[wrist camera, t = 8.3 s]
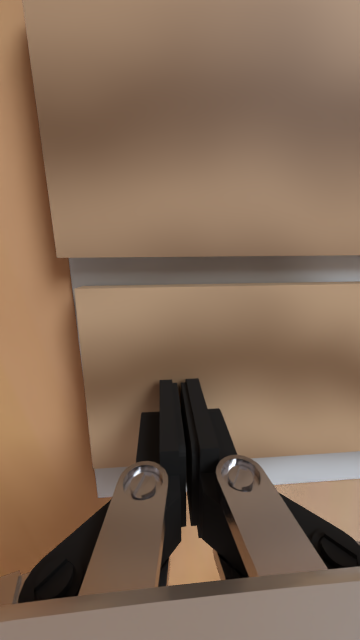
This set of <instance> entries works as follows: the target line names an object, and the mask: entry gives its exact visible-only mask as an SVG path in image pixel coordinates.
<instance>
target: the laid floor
mask: <svg viewBox="0 0 360 640" xmlns="http://www.w3.org/2000/svg"><path fill="white" fill-rule="evenodd" d="M22 3H23V11H24V18H25V26H26V33H27V40H28V48H29V55H30V63H31V70H32V77H33V85H34V92H35V100H36V107H37V114H38V122H39V129H40V137H41V144H42V151H43V159H44V166H45V174H46V181H47V188H48V196H49V203H50V211H51V218H52V225H53V233H54V240H55V247H56V255H57V258H69V265H70V274H71V282H72V290H73V298H74V306H75V314H76V322H77V331H78V339H79V330H78V321H77V311H76V301H75V292H74V289H75V288H78V287H82V286H106V285H168V284H230V283H292V282H354V281H360V0H22ZM79 347H80V340H79ZM80 355H81V350H80ZM81 363H82V359H81ZM82 371H83V369H82ZM251 459H253V460H254V461H255V462H257V463H258V464H259V465H260V466H261V467H262V469H263V470H264V472H265V473H266V475H267V476H268V478H269V479H270V481H271V482H272V484H273V485H279V484H292V483H306V482H319V481H333V480H346V479H359V478H360V451H356V452H341V453H326V454H311V455H296V456H281V457H266V458H251ZM126 468H127V467H115V468H100V469H95V477H96V485H97V493H98V498H104V497H112V496H113V493H114V490H115V487H116V484H117V482H118V479H119V477H120V475H121V473H122V472H123V471H124V470H125V469H126ZM186 491H187V487H186Z"/></svg>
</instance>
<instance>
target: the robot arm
mask: <svg viewBox="0 0 360 640" xmlns="http://www.w3.org/2000/svg"><path fill="white" fill-rule="evenodd" d="M159 384H160V411H159V412H142V413H141V419H140V428H139V437H138V446H137V455H136V463H134V464H132V465H131V466H129V467H127V468H126V469H125V470H124V471H123V472H122V473H121V475H120V477H119V479H118V482H117V484H116V487H115V490H114V493H113V496H112V499H111V500H110V501H109V502H108V503H107V504H106V505H104V506H103V507H102V508H101V509H100V510H99V511H97V512H96V513H95V514H94V515H93V516H92V517H90V518H89V519H88V520H87V521H86V522H85V523H83V524H82V525H81V526H80V527H79V528H78V529H77V530H75V531H74V532H73V533H72V534H71V535H70V536H68V537H67V538H66V539H65V540H64V541H63V542H61V543H60V544H59V545H58V546H57V547H56V548H55V549H53V550H52V551H51V552H50V553H49V554H48V555H46V556H45V557H44V558H43V559H42V560H41V561H40V562H39V563H38V564H37V565H36V566H35V567H34V568H33V569H32V571H31V572H29V573H26V574H23V575H21V574H20V570H19V571H16V572H13V573H10V574H7V575H5V576H2V577H0V640H360V542H358V541H355V540H354V539H353V538H352V537H350V536H349V535H348V534H346V533H345V532H343V531H342V530H340V529H339V528H337V527H335V526H334V525H332V524H330V523H329V522H327V521H325V520H324V519H322V518H320V517H319V516H317V515H315V514H314V513H312V512H310V511H308V510H307V509H305V508H303V507H302V506H300V505H298V504H297V503H295V502H293V501H292V500H290V499H288V498H287V497H285V496H283V495H282V494H280V493H278V491H277V490H276V488H275V487H274V485H273V484H272V482H271V481H270V479H269V478H268V476H267V475H266V473H265V472H264V470H263V469H262V467H261V466H260V465H259V464H258V463H257V462H255V461H254V460H253V459H251V458H248V457H246V456H242V455H237V452H236V449H235V447H234V444H233V441H232V439H231V436H230V433H229V431H228V428H227V425H226V423H225V420H224V418H223V415H222V412H221V410H220V409H219V408H214V409H207V405H206V402H205V399H204V395H203V392H202V389H201V385H200V382H199V379H198V378H193V379H186V380H185V382H181V408H180V400H179V393H178V385H177V383H172V379H171V380H160V381H159ZM186 487H187V496H188V504H189V513H190V522H191V526H196V525H197V529H198V536H199V538H202V539H203V540H204V541H205V542H206V543H207V544H209V545H210V546H211V547H212V548H213V555H214V560H215V563H216V566H217V570H218V573H219V576H220V579H221V580H220V581H211V582H201V583H192V584H183V585H173V586H168V581H169V570H170V555H171V554H172V552H173V551H174V550H175V548H176V547H177V546H178V544H179V543H180V542H181V527H185V526H186Z"/></svg>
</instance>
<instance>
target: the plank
mask: <svg viewBox="0 0 360 640" xmlns="http://www.w3.org/2000/svg"><path fill="white" fill-rule="evenodd" d="M74 292H75V301H76V311H77V321H78V330H79V340H80V350H81V359H82V369H83V379H84V388H85V398H86V407H87V417H88V427H89V436H90V446H91V456H92V465H93V469H100V468H115V467H129V466H131V465H132V464H134V463H136V455H137V446H138V437H139V428H140V419H141V413H142V412H159V411H160V384H159V381H160V380H171V379H172V383H177V385H178V393H179V400H180V408H181V382H185V380H186V379H193V378H198V379H199V382H200V385H201V389H202V392H203V395H204V399H205V402H206V405H207V409H214V408H219V409H220V410H221V412H222V415H223V418H224V420H225V423H226V425H227V428H228V431H229V433H230V436H231V439H232V441H233V444H234V447H235V449H236V452H237V455H242V456H246V457H248V458H266V457H281V456H296V455H311V454H326V453H341V452H356V451H360V281H354V282H292V283H230V284H168V285H106V286H82V287H78V288H75V289H74Z"/></svg>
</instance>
